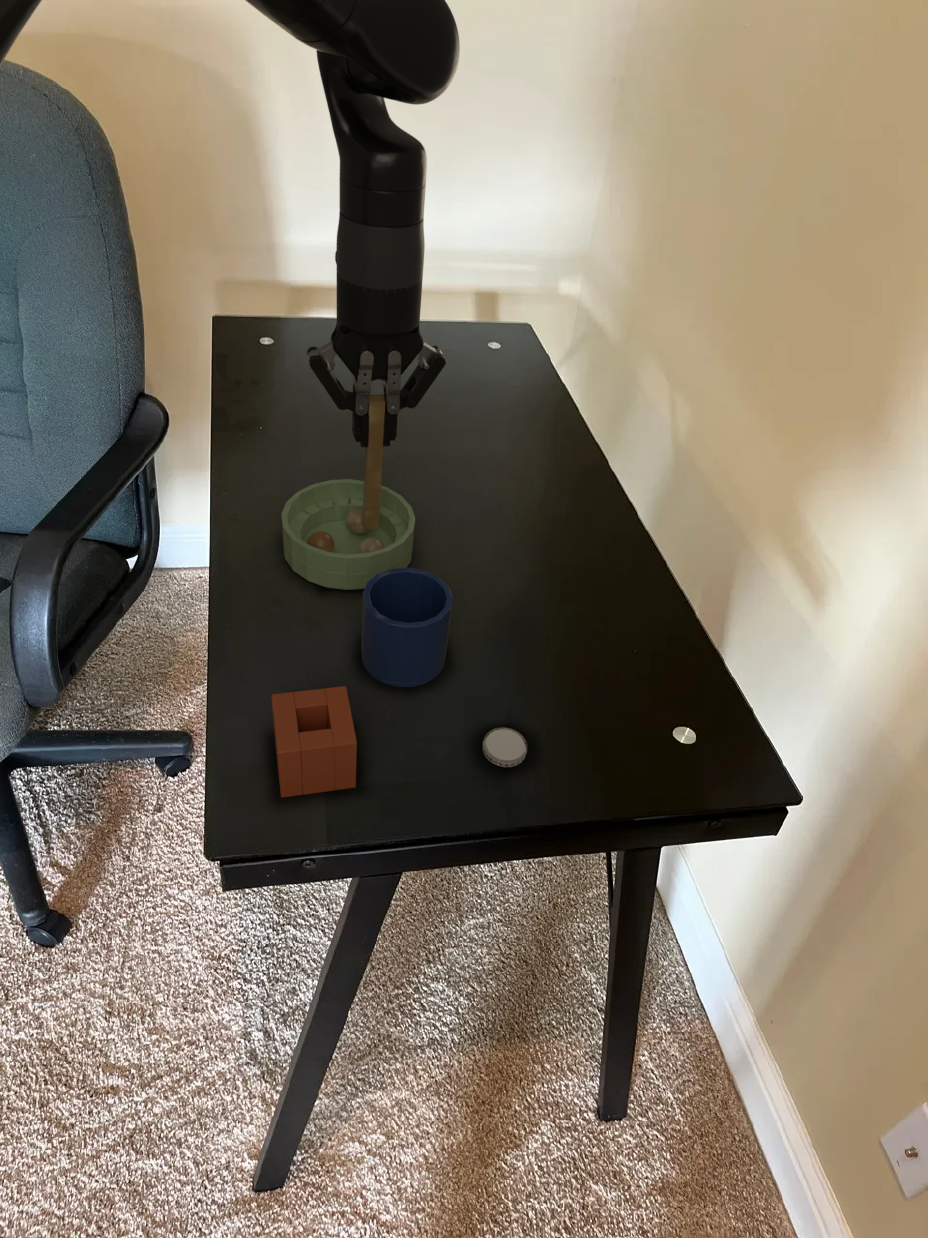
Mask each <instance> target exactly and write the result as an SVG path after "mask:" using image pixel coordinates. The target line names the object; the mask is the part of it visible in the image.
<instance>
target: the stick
mask: <svg viewBox="0 0 928 1238" xmlns="http://www.w3.org/2000/svg"><path fill="white" fill-rule="evenodd" d="M367 412H368V415H369V443H368V447H364V458H363V459H364V461H363V462H364V464H363V481H364V488H363V518H362V522H363V527H364V530H365V531H371V530H379V516H380V497H381V485H382V478H383V477H382V476H383V475H382V473H383V458H384V457H383V456H384V446H383V434H384V415H385V400H384V397H383V393H377V394H376V393H375V394H372V393H370V394H369V401H368V411H367Z"/></svg>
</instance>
